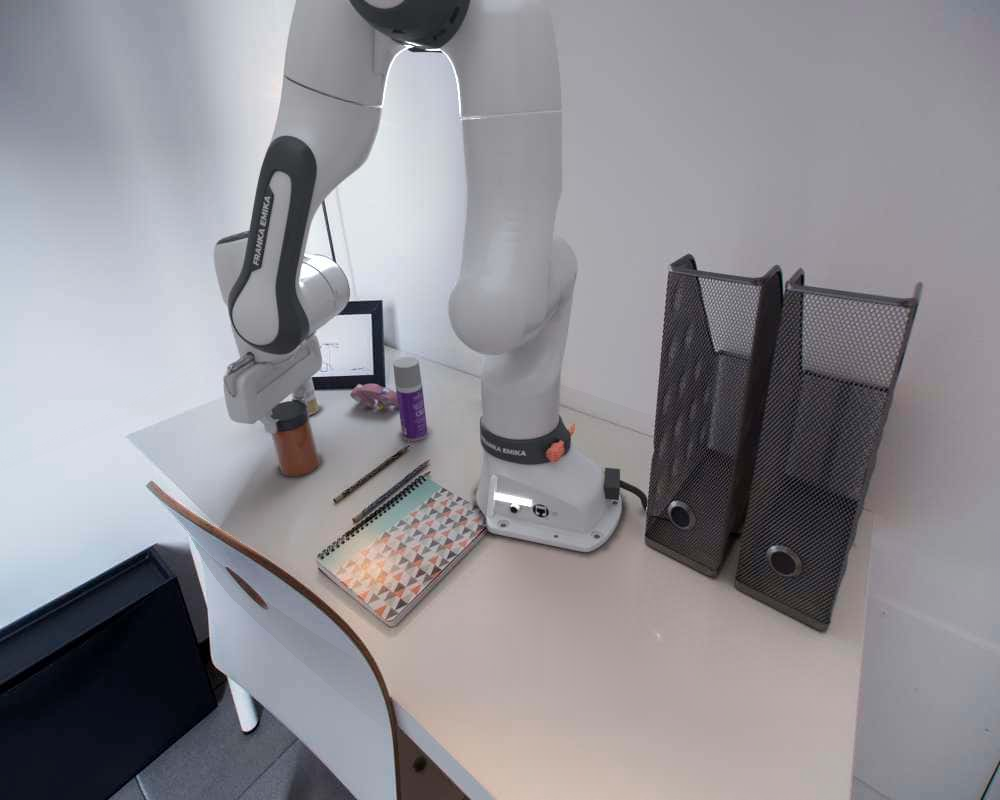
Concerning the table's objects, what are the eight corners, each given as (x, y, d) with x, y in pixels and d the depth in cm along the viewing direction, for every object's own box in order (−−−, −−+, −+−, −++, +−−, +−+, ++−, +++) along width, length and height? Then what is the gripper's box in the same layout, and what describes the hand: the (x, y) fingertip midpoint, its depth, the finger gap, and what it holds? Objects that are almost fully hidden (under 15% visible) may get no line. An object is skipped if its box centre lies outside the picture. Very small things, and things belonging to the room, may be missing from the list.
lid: (317, 415, 88) (315, 406, 88) (287, 434, 84) (284, 424, 83) (290, 407, 91) (287, 397, 90) (259, 425, 86) (256, 415, 85)
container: (422, 442, 97) (414, 368, 90) (398, 439, 98) (388, 367, 91) (430, 428, 101) (422, 357, 94) (407, 426, 102) (397, 355, 95)
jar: (327, 460, 93) (315, 408, 88) (299, 480, 88) (284, 426, 83) (301, 451, 96) (288, 400, 91) (273, 470, 91) (257, 417, 86)
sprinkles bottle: (314, 403, 111) (300, 344, 104) (322, 412, 108) (309, 351, 101) (292, 411, 108) (277, 351, 102) (300, 420, 105) (285, 358, 99)
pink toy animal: (356, 412, 110) (343, 392, 105) (365, 394, 113) (352, 374, 107) (399, 418, 108) (388, 398, 102) (407, 400, 110) (396, 380, 105)
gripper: (241, 372, 71) (266, 456, 78) (321, 318, 88) (335, 391, 95) (201, 368, 72) (229, 451, 79) (287, 316, 90) (304, 388, 96)
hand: (288, 418), depth 87 cm, fingers closed on lid, 6 cm apart
